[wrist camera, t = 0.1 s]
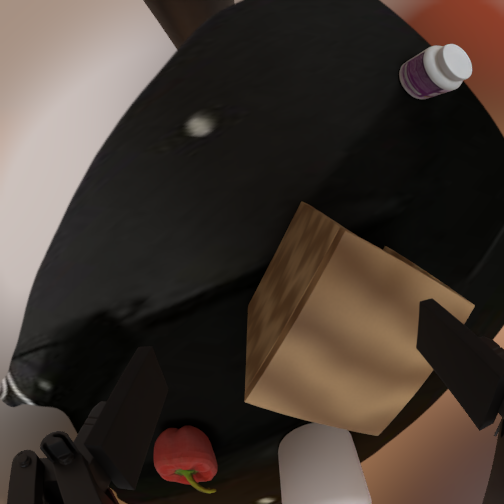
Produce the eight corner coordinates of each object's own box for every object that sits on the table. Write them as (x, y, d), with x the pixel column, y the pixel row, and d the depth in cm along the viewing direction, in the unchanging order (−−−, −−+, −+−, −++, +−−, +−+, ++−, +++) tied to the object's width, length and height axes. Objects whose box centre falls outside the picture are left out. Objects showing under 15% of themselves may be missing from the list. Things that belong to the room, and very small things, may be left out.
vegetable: (236, 435, 44) (233, 483, 34) (204, 462, 46) (198, 505, 36) (176, 407, 42) (162, 454, 32) (150, 436, 44) (136, 479, 35)
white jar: (290, 469, 46) (300, 558, 27) (266, 433, 43) (271, 539, 24) (355, 449, 45) (382, 536, 26) (342, 409, 42) (375, 513, 23)
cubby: (301, 200, 34) (345, 230, 18) (392, 249, 36) (475, 305, 19) (247, 305, 37) (244, 402, 21) (337, 342, 39) (377, 436, 22)
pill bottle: (421, 108, 31) (466, 96, 22) (390, 78, 30) (429, 56, 21) (439, 82, 30) (483, 66, 20) (410, 54, 29) (449, 29, 20)
